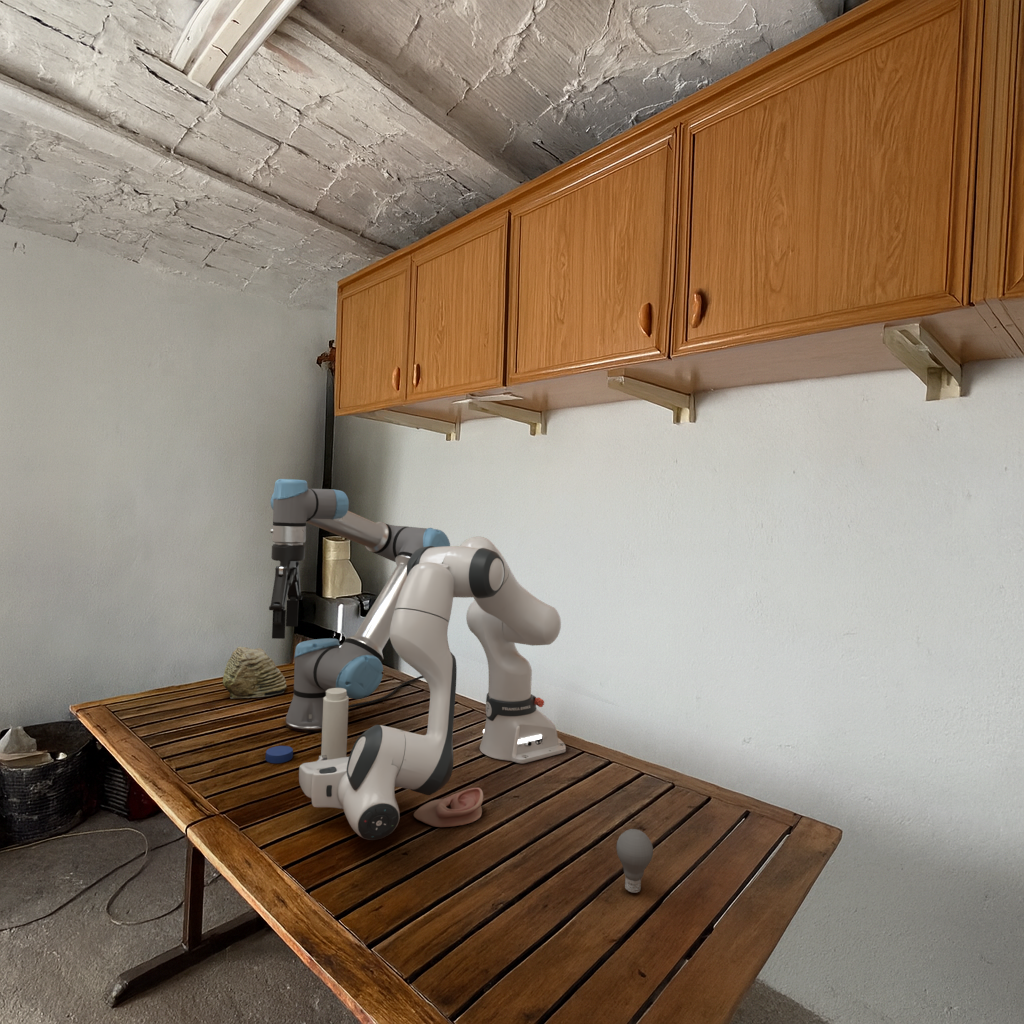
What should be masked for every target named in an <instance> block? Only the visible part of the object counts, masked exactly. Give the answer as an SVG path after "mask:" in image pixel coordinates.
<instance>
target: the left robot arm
mask: <svg viewBox="0 0 1024 1024" xmlns="http://www.w3.org/2000/svg"><path fill="white" fill-rule="evenodd" d="M269 503H270V507H271V509H272V528H271V529H270V530H269V533H270V534H272V536H271V537H272V538H271V539H272V540H271V541H272V542H273V544H272V545H271V556H270V557H271V560H273V561H277V562H280V563H279V566H278V565H276V566H275V572H274V573H275V574H274V580H273V587H272V595H271V602H270V605H269V606H268V610H269V611H272V622H271V623H272V625H271V626H272V627H271V639H273V640H274V639H277V640H279V639H280V640H284V639H286V627H293V628H295V627H299V606H300V604H299V603H300V600H301V601H302V600H303V595H302V592H301V591H302V590H301V577H300V562H301V561H304V560H305V558H306V546H305V545H304V543H306V540H307V524H309V525H311V526H314V527H316V528H319V529H322V530H324V531H327V532H329V533H331V534H334V535H336V536H340V537H341V538H344V539H347V540H349V541H352V542H354V543H357V544H359V545H361V546H365V549H366V550H367V551H369V552H371V553H373V554H375V555H377V556H380V557H382V558H384V559H387V560H389V561H392V562H394V563H395V564H396V567H395V568H394V569H393V571H392V573H391V575H390V576H389V578H388V579H387V581H386V583H385V584H384V585H383V588H382V589H381V591H380V593H379V595H377V598H376V599H375V601H374V602H373V604H372V606H371V607H370V609H369V610H368V612H367V614H366V615H365V617H364V619H363V621H362V622H361V624H360V626H358V629H357V630H356V632H355V633H354V635H351V636H347V637H346V638H345V639H344V641H343V643H341V644H340V641H339V639H337V638H331V637H329V638H317V639H316V638H315V639H308V640H304V641H300V642H299V643H298V644H297V645H296V646H295V650H294V651H295V652H294V655H293V658H294V672H293V695H292V696H293V697H292V699H291V702H290V704H289V708H288V711H287V713H286V715H285V726H286V728H287V729H289V730H291V731H294V732H295V731H296V732H301V733H316V732H322V720H323V698H324V697H325V696H326V691H327V690H328V689H331V688H344V689H346V692H347V696H348V697H349V699H352V700H362V699H365V698H367V697H370V695H372V694H373V693H374V692H375V691H376V690H377V689H378V687H379V686H380V684H381V682H382V679H383V676H384V675H383V671H384V665H383V661H384V655H383V650H384V648H385V646H386V644H387V643H388V641H389V640H390V626H391V621H392V617H393V614H394V610H395V606H396V603H397V600H398V597H399V594H400V592H401V589H402V587H403V585H404V582H405V580H406V578H407V564H408V561H409V559H410V557H411V556H412V554H413V553H414V552H415V551H416V550H417V549H419V548H422V547H428V546H434V547H443V546H451V543H450V540H449V537H448V535H447V534H446V533H445V532H444V531H443V530H441V529H438V528H437V529H436V528H433V527H427V528H426V527H418V526H417V527H416V526H406V525H393V524H389V523H388V524H387V523H386V522H383V521H372V520H370V519H369V518H366V517H364V516H362V515H359V514H357V513H355V512H352V511H350V510H349V505H350V501H349V498H348V495H347V494H346V492H344V491H343V490H339V489H334V488H331V489H329V488H309V486H308V482H307V480H305V479H294V478H293V479H292V478H279V479H277V480H276V481H275V482H274V487H273V493H272V495H271V496H270V502H269ZM421 679H424V677H423V676H422V675H420V676H417V677H415V678H412V679H409V680H406V681H404V682H402V683H400V684H399V685H398V686H396V687H395V688H394V690H392V691H391V692H389V693H388V694H386V695H383V696H382V697H379V698H376V699H372V700H368V701H363V702H358V703H357V702H356V703H352V704H348V709H351V708H356V707H359V706H365V705H371V704H374V703H378V702H381V701H383V700H385V699H387V698H389V697H391V696H392V695H394V694H395V693H396V692H397V691H398V690H399V689H401V688H402V687H404V686H405V685H407V684H410V683H413V682H416V681H418V680H421Z"/></svg>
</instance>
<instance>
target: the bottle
mask: <svg viewBox="0 0 1024 1024" xmlns="http://www.w3.org/2000/svg"><path fill="white" fill-rule="evenodd" d="M349 699H350V698H349V697H348V696H347V692H346V689H344V688H331V689H328V690H327V691H326V696H325V697H324V698H323V720H322V731H321V746H320V747H321V748H320V749H321V750H320V756H321V755H326V756H327V760H329V759H336V758H343V757H347V750H348V729H349V728H348V726H349V708H348V705H349Z"/></svg>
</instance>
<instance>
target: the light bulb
mask: <svg viewBox="0 0 1024 1024" xmlns="http://www.w3.org/2000/svg"><path fill="white" fill-rule="evenodd" d="M615 849H616V854H617V857H618V859H619V861H620V863H621V865H622V867H623V873H624V874H623V875H624V876H625V878H624V888H625V890H627V891H628V892H630V893H634V894H635V893H639V892H640V891H641V889H642V887H641V886H642V879H643V877H644V875H645V871H646V868H647V867H648V866H649V864H650V863H651V861H652V859H653V855H654V847H653V843H652V841H651V838H649V836H648V835H647V834H646V833H645V832H643V831H642V830H641V829H636V828H629V829H627V830H625V831H623V832H622V833H621V834H620V835H619V837H618V839H617V841H616V847H615Z"/></svg>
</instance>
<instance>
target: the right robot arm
mask: <svg viewBox="0 0 1024 1024" xmlns="http://www.w3.org/2000/svg"><path fill="white" fill-rule="evenodd" d="M455 598H463V599H464V598H466V599H467V598H473V599H474V600H472V602H471V603H470V604H469V606H468V608H467V611H466V624H467V627H468V629H469V631H470V632H471V633H473V635H474V636H475V637H476V639H477V640H478V642H479V643H480V645H481V647H482V649H483V651H484V654H485V656H486V661H487V667H488V668H487V669H488V691H487V693H486V697H485V717H486V718H485V725H484V729H483V730H482V733H483V734H482V738H481V741H480V744H479V747H478V748H479V751H480V752H481V754H483V755H485V756H487V757H489V758H492V759H495V760H499V761H508V762H509V761H510V762H513V763H515V764H516V763H517V764H522V765H523V764H527V763H531V762H534V761H538V760H542V759H545V758H549V757H553V756H556V755H557V756H558V755H561V754H564V753H566V752H567V746H566V744H565V742H564V741H563V740H562V739H560V738H559V737H558V731H557V727H556V725H555V723H554V722H553V721H552V720H551V719H550V718H549V717H547V715H545V714H544V713H542V711H541V710H539V709H538V708H542V707H544V705H545V700H544V699H542V698H541V697H537V696H535V695H533V694H532V680H533V679H532V678H533V669H532V665H531V663H530V661H529V660H528V659H527V658H526V657H524V656H523V655H522V654H521V653H520V652H519V650H518V649H517V647H516V644H520V645H526V646H533V647H534V646H549V645H552V644H553V643H554V642H555V641H556V640H557V638H558V637H559V635H560V633H561V629H562V620H561V616H560V614H559V611H558V610H557V608H556V607H554V606H552V605H550V604H548V603H545V602H543V601H542V600H540V599H539V598H537V597H536V596H535V595H533V594H532V593H531V592H530V591H528V590H527V589H526V588H525V587H523V586H522V585H521V583H520V582H519V581H518V580H517V578H516V576H515V575H514V573H513V571H512V570H511V567H510V566H509V564H508V562H507V560H506V558H505V557H504V556H503V554H502V553H501V551H500V550H499V549H498V547H496V545H495V544H494V543H493V542H492V541H491V539H488V538H487V537H484V536H471V537H469V538H467V539H465V540H464V541H462V542H461V543H460V545H453V546H452V545H450V546H443V547H434V546H428V547H422V548H419V549H417V550H416V551H415V552H414V553H413V554H412V556H411V557H410V559H409V561H408V564H407V578H406V580H405V582H404V585H403V587H402V589H401V592H400V594H399V597H398V600H397V603H396V606H395V610H394V614H393V617H392V621H391V626H390V637H389V640H390V643H391V646H392V648H393V650H394V651H395V653H396V654H397V655H398V656H399V658H400V659H402V660H403V661H404V662H405V663H406V664H407V665H408V666H410V667H411V668H413V669H414V670H415V671H416V672H417V673H419V675H420V676H423V677H424V678H423V679H424V680H425V681H426V683H427V686H428V688H429V707H428V718H427V729H426V734H420V733H415V732H410V731H406V730H403V729H400V728H396V727H391V726H386V725H381V724H374V725H373V726H371V727H369V728H367V730H365V731H364V732H363V733H361V735H360V736H358V737H357V739H356V741H355V742H354V744H353V746H352V748H351V751H350V753H349V756H346V757H343V758H336V759H329V760H327V756H326V755H321V754H320V755H318V759H317V760H316V761H310V762H303V763H301V764H300V765H299V768H298V783H299V786H300V788H301V790H302V792H303V794H304V795H305V796H306V797H307V798H309V799H311V805H312V807H314V808H331V809H340V810H343V813H344V815H345V818H346V820H347V822H348V824H349V826H350V828H351V829H352V830H353V832H355V833H356V835H357V836H359V837H360V838H362V839H364V840H368V841H377V840H381V839H383V838H386V837H388V836H389V835H391V834H392V833H393V832H394V831H395V829H396V828H397V827H398V825H399V822H400V816H401V815H400V808H399V804H398V802H397V799H396V795H395V793H396V792H395V789H396V787H397V788H401V789H407V790H410V791H412V792H416V793H417V794H418V793H419V794H422V795H426V796H431V795H434V794H435V793H437V792H438V791H440V790H442V788H444V787H445V786H446V785H447V784H448V783H449V781H450V780H451V777H452V774H453V772H454V771H453V770H454V741H453V738H454V737H453V736H454V724H455V723H454V720H455V708H456V707H455V706H456V693H457V669H458V667H457V659H456V656H455V655H454V654H453V653H452V652H451V649H450V645H449V639H448V629H449V624H450V620H451V614H452V610H453V603H454V599H455ZM537 707H538V708H537Z"/></svg>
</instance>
